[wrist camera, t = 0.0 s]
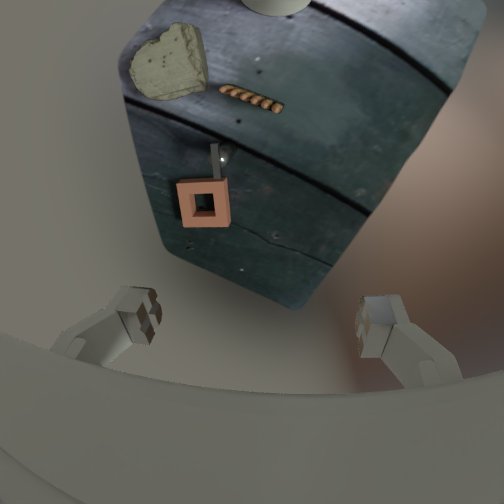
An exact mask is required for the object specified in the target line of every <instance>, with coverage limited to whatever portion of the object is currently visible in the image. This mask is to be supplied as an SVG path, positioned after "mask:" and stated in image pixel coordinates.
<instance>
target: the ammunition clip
mask: <svg viewBox="0 0 504 504" xmlns="http://www.w3.org/2000/svg"><path fill="white" fill-rule="evenodd" d="M219 91H220V92H221V93H224V94H228V95H230V96H232V97H235V98H239V97H240V98H239V99H241V100H243V101H247V102H250V101H251V102H250V103H252V104H254V105H258V106H260V107H262V108H264V109H268V110H270V111H273V112H274V113H278V114H279V113H281V111H282V109H283V107H284V105H285V104H283V103H281V102H278V101H276V100H274V99H271V98H269V97H266V96H264V95H261V94H258V93H256V92H253V91H250V90H248V89H245V88H242V87H239V86H236V85H233V84H228V85H225V86H223V87H220V89H219ZM259 104H260V105H259ZM269 108H270V109H269ZM271 109H272V110H271Z"/></svg>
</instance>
